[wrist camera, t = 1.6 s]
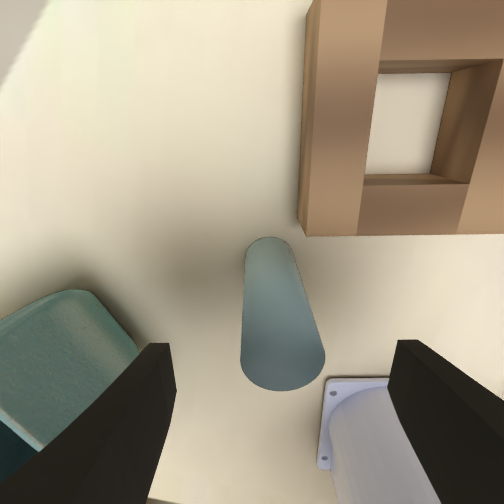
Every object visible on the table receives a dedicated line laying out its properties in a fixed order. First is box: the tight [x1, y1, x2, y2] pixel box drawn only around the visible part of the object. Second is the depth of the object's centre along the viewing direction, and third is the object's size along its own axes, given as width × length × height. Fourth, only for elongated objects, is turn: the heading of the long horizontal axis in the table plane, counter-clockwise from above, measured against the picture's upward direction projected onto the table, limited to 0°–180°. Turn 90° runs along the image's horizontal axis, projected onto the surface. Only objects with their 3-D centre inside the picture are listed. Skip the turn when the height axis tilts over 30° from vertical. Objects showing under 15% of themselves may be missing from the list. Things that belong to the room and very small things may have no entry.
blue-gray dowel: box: [240, 237, 325, 391], centre depth 13 cm, size 3×3×8 cm
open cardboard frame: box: [297, 0, 504, 237], centre depth 13 cm, size 9×9×3 cm
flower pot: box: [0, 290, 140, 483], centre depth 15 cm, size 9×9×9 cm
